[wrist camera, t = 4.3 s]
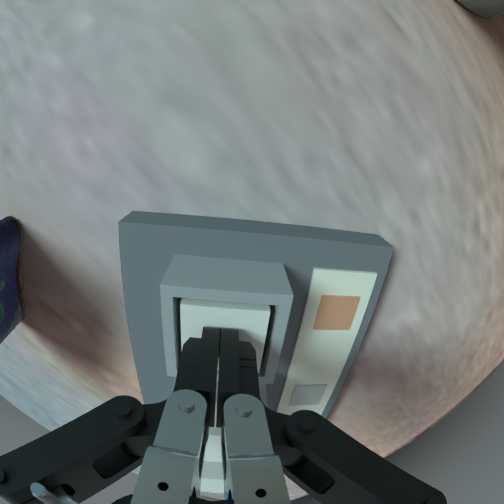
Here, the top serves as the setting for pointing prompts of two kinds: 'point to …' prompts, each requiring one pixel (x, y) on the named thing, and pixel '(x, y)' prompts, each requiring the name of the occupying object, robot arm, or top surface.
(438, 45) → the top surface
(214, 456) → the button middle
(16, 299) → the flask
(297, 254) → the board
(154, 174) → the top surface
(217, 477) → the button
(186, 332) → the button
